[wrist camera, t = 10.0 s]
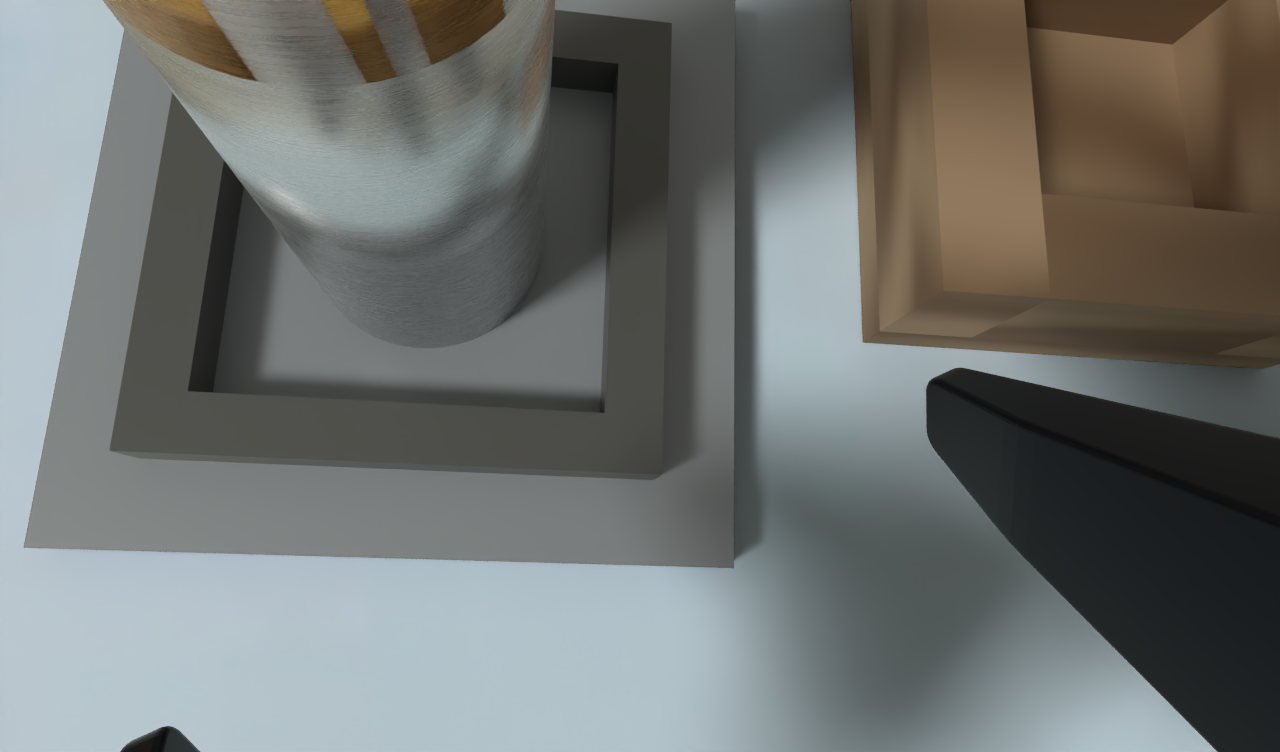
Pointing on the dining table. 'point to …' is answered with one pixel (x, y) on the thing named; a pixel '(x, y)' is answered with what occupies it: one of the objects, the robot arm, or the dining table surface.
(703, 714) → the dining table surface
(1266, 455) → the robot arm
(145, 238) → the tray
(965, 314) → the socket block
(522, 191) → the gold-topped cylinder
